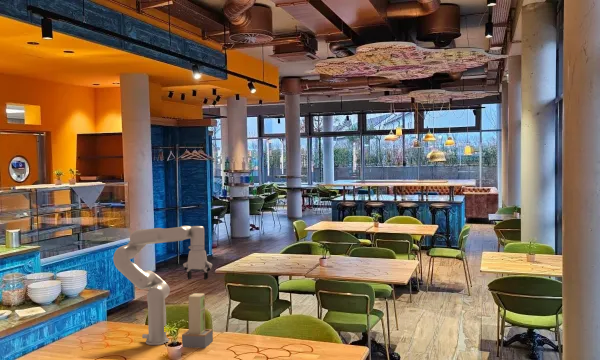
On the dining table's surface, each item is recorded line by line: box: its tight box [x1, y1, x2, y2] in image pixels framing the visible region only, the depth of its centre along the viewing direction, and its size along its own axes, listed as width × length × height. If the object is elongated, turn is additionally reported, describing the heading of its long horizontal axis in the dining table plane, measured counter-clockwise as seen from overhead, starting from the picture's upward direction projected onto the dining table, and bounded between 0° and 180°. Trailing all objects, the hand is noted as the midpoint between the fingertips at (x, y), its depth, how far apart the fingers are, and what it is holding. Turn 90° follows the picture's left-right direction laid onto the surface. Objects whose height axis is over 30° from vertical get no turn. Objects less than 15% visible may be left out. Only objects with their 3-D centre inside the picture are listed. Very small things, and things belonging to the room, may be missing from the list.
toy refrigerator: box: [188, 292, 206, 334], centre depth 283 cm, size 8×7×21 cm
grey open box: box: [181, 328, 214, 349], centre depth 283 cm, size 13×12×7 cm
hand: (197, 279), depth 288 cm, fingers open, 9 cm apart
